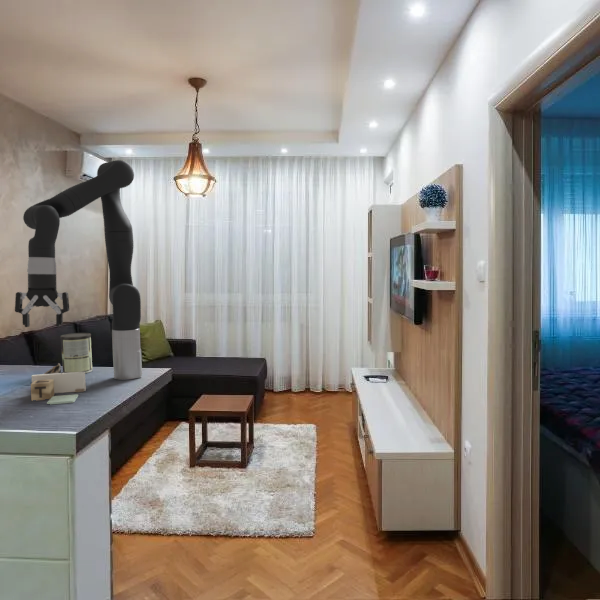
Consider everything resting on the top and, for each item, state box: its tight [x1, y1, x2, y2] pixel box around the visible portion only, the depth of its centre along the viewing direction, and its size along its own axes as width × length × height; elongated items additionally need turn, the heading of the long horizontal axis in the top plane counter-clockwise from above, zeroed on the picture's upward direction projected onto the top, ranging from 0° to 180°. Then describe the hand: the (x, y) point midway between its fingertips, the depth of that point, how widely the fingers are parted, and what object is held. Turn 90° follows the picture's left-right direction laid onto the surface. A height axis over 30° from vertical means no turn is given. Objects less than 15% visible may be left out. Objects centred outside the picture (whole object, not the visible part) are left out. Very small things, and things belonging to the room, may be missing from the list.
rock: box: [43, 362, 62, 374], centre depth 153 cm, size 9×7×10 cm
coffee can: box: [60, 332, 93, 374], centre depth 175 cm, size 10×10×14 cm
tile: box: [46, 394, 79, 405], centre depth 138 cm, size 7×7×1 cm
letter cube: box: [30, 379, 55, 402], centre depth 141 cm, size 5×5×5 cm
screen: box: [31, 372, 87, 394], centre depth 147 cm, size 15×3×6 cm, turn 105°
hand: (42, 326), depth 141 cm, fingers open, 8 cm apart
